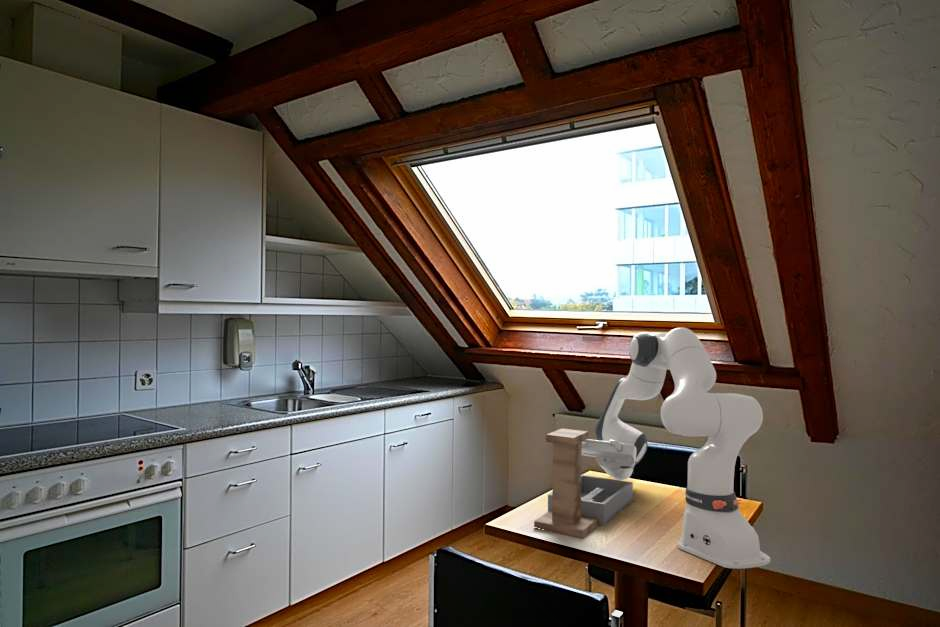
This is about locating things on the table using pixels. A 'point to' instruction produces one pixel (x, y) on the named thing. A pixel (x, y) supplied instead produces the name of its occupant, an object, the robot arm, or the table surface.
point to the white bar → (595, 495)
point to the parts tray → (611, 505)
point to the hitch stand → (567, 486)
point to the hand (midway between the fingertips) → (597, 440)
